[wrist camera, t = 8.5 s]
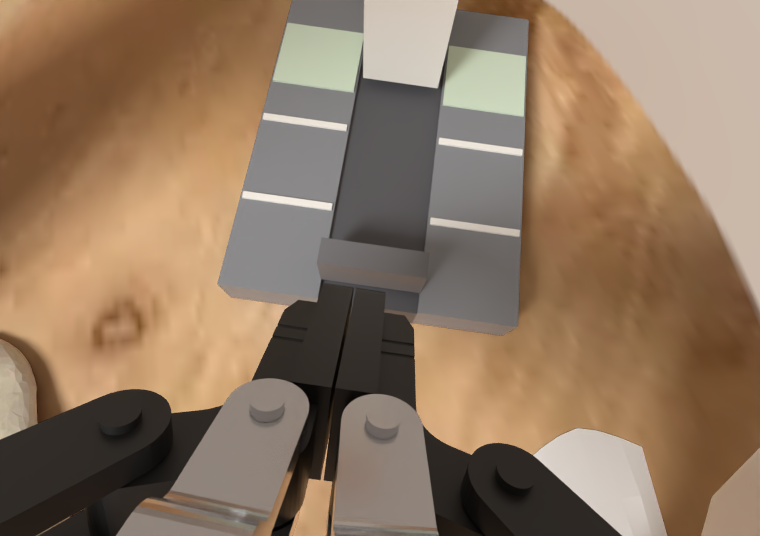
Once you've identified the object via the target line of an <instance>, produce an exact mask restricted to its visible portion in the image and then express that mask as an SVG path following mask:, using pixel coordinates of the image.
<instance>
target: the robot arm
mask: <svg viewBox="0 0 760 536" xmlns="http://www.w3.org/2000/svg"><path fill="white" fill-rule="evenodd" d="M353 292H354V287H349V286H343V285H336V284H329V283H324V284H323V286H322V289H321V292H320V295H319V298H318V301H317V302H311V301H304V300H297V301H296V302H295V303H293V304H292V305H291V306H289V307H288V308H286V309H285V310H284V312H283V314H282V316H281V318H280V321H279V323H278V327H276V329H275V331H274V334H273V337H272V338H271V340H270V342H269V344H268V347H267V349H266V351H265V353H264V355H263V357H262V359H261V362H260V364H259V366H258V368H257V370H256V372H255V375H254V377H253V379H252V381H251V382H248V383H246V384H244V385H241V386H240V387H238V388H237V389H236V390H234V391H233V392H232V393H231V394H230V396H229V397H228V398H227V400H226V402H225V403H224V405H222V406H219V407H215V408H212V409H206V410H199V411H189V412H180V413H171V408H170V405H169V403H168V402H167V400H166V399H165V398H164V397H162V396H161V395H159V394H157V393H155V392H152V391H148V390H140V389H131V390H123V391H117V392H114V393H110V394H107V395H105V396H102V397H100V398H97V399H95V400H92V401H90V402H88V403H85V404H83V405H81V406H78V407H76V408H73V409H71V410H69V411H66V412H64V413H62V414H59V415H57V416H55V417H52V418H50V419H47V420H45V421H43V422H40V423H38V424H36V425H33V426H31V427H28V428H26V429H24V430H21V431H19V432H17V433H14V434H12V435H10V436H7V437H5V438H2V439H0V536H36V535H38V534H40V533H42V532H43V531H45V530H47V529H49V528H50V527H52V526H54V525H56V524H57V523H59V522H61V521H63V520H64V519H66V518H68V517H70V516H71V515H73V514H75V513H77V512H78V511H80V510H82V509H84V510H82V511H80V512H79V513H77V514H75V515H73V516H72V517H70V518H68V519H66V520H65V521H63V522H61V523H59V524H58V525H56V526H54V527H52V528H51V529H49V530H47V531H45V532H44V533H42V534H40V535H38V536H293V534H294V531H295V528H296V525H297V522H298V518H299V511H300V508H301V506H302V504H303V501H304V497H305V492H306V488H307V484H308V479H309V478H310V479H317V480H320V479H321V474H322V469H323V464H324V459H325V454H326V449H327V444H328V451H327V459H326V467H325V474H324V480H325V481H332V489H331V496H330V504H329V511H328V518H327V526H326V536H622V535H621V534H620V533H619V532H618V531H616V530H615V529H614V528H613V527H612V526H611V525H610V524H609V523H608V522H606V521H605V520H604V519H603V518H602V517H601V516H600V515H599V514H598V513H597V512H595V511H594V510H593V509H592V508H591V507H590V506H589V505H588V504H587V503H586V502H584V501H583V500H582V499H581V498H580V497H579V496H578V495H577V494H576V493H575V492H573V491H572V490H571V489H570V488H569V487H568V486H567V485H566V484H565V483H564V482H562V481H561V480H560V479H559V478H558V477H557V476H556V475H555V474H554V473H553V472H551V471H550V470H549V469H548V468H547V467H546V466H545V465H544V464H543V463H542V462H540V461H539V460H538V459H537V458H536V457H534V456H533V455H531V454H530V453H528V452H526V451H524V450H522V449H520V448H518V447H515V446H512V445H508V444H502V443H492V444H487V445H484V446H482V447H480V448H478V449H477V450H476V451H475V452H474V453H473V454H472V455H470V454H468V453H465V452H463V451H461V450H458V449H456V448H453V447H451V446H449V445H447V444H445V443H443V442H441V441H440V440H438V439H437V438H435V437H434V436H433V435H432V434H430V433H429V432H428V431H427V430H426V428H425V427H424V426H423V424H422V421H421V419H420V417H419V415H418V414H417V412H416V394H415V359H414V356H415V355H414V329H413V327H412V326H411V324H410V323H409V321H408V320H407V318H406V316H405V315H398V314H392V313H385V312H384V310H385V298H386V292H383V291H376V290H370V289H363V288H357V287H356V291H355V296H354V301H353V306H352V300H353ZM351 307H352V311H351ZM329 434H330V435H329ZM328 439H329V443H328Z"/></svg>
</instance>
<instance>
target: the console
mask: <svg viewBox="0 0 760 536" xmlns="http://www.w3.org/2000/svg"><path fill="white" fill-rule="evenodd" d="M528 25H529V20H528V19H521V18H514V17H506V16H499V15H492V14H485V13H478V12H471V11H464V10H457V9H456V13H455V17H454V21H453V25H452V30H451V34H450V38H449V42H448V46H447V51H446V55H445V59H444V63H443V67H442V72H441V76H440V80H439V84H438V88H431V87H424V86H417V85H410V84H403V83H396V82H389V81H382V80H375V79H368V78H363V45H364V0H292V3H291V7H290V10H289V14H288V18H287V22H286V26H285V29H284V33H283V37H282V41H281V45H280V48H279V52H278V56H277V60H276V64H275V67H274V71H273V75H272V79H271V83H270V86H269V90H268V94H267V98H266V102H265V105H264V109H263V113H262V117H261V121H260V124H259V128H258V132H257V136H256V140H255V143H254V147H253V151H252V155H251V159H250V162H249V166H248V170H247V174H246V178H245V181H244V185H243V189H242V193H241V196H240V200H239V204H238V208H237V212H236V215H235V219H234V223H233V227H232V231H231V234H230V238H229V242H228V246H227V250H226V253H225V257H224V261H223V265H222V269H221V272H220V276H219V280H218V285H219V286H220V287H221V288H222V289H223V290H224V291H225V292H226V293H227V294H228V295H229V296H230V297H233V298H240V299H247V300H254V301H261V302H268V303H275V304H282V305H289V306H291V305H292V304H293V303H295V302H296V301H297V300H304V301H311V302H317V301H318V298H319V295H320V292H321V289H322V286H323V284H324V283H329V284H336V285H343V286H349V287H354V292H353V300H352V306H353V301H354V296H355V291H356V287H357V288H363V289H370V290H376V291H383V292H386V298H385V310H384V312H385V313H392V314H398V315H405V316H406V318H407V320H408V321H409V323H416V324H423V325H430V326H437V327H444V328H451V329H458V330H465V331H472V332H479V333H486V334H493V335H501V336H503V335H505V334H507V333H508V332H510V331H512V330H513V329H515V328H517V327H518V313H519V284H520V255H521V226H522V198H523V169H524V140H525V111H526V82H527V53H528ZM351 311H352V307H351Z"/></svg>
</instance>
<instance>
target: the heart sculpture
mask: <svg viewBox="0 0 760 536" xmlns="http://www.w3.org/2000/svg"><path fill="white" fill-rule="evenodd" d="M533 456H534V457H536V458H537V459H538V460H539V461H540V462H542V463H543V464H544V465H545V466H546V467H547V468H548V469H549V470H550V471H551V472H553V473H554V474H555V475H556V476H557V477H558V478H559V479H560V480H561V481H562V482H564V483H565V484H566V485H567V486H568V487H569V488H570V489H571V490H572V491H573V492H575V493H576V494H577V495H578V496H579V497H580V498H581V499H582V500H583V501H584V502H586V503H587V504H588V505H589V506H590V507H591V508H592V509H593V510H594V511H595V512H597V513H598V514H599V515H600V516H601V517H602V518H603V519H604V520H605V521H606V522H608V523H609V524H610V525H611V526H612V527H613V528H614V529H615V530H616V531H618V532H619V533H620V534H621V535H622V536H667V533H666V529H665V526H664V522H663V519H662V515H661V512H660V508H659V505H658V501H657V498H656V494H655V491H654V487H653V484H652V480H651V477H650V473H649V470H648V466H647V463H646V459H645V456H644V452H643V449H642V447H641V446H639V445H636V444H634V443H632V442H629V441H627V440H624V439H622V438H620V437H617V436H613V435H610V434H607V433H604V432H601V431H597V430H589V429H580V428H576V429H574V430H571V431H569V432H567V433H564V434H562V435H560V436H558V437H556V438H555V439H554V440H552V441H551V442H549V443H548V444H546V445H545V446H544V447H542V448H541V449H540V450H539V451H538V452H536V453H535V454H534V455H533ZM701 536H760V448H759V449H758V450H757V451H756V452H755V453H754V454H753V455H752V456H751V457H750V458H749V459H748V460H747V461H746V462H745V463H744V464H743V465H742V466H741V467H740V468H739V469H738V470H737V471H736V472H735V473H734V474H733V475H732V476H731V477H730V478H729V479H728V481H727V482H726V483H725V484H724V485H723V486H722V487H721V488H720V489H719V490H718V491H717V492H716V493H715V494H714V495H713V496H712V498H711V502H710V505H709V509H708V512H707V516H706V520H705V523H704V527H703V531H702V534H701Z"/></svg>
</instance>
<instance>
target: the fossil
mask: <svg viewBox="0 0 760 536" xmlns="http://www.w3.org/2000/svg"><path fill="white" fill-rule="evenodd" d="M36 392H37V386H36V382H35V377H34V375H33V373H32V369H31V366H30V364H29V362H28V361H27V359H26V358H25V356H24V355H23V354H22V353H21V352H20V351H19V350H18V348H16V347H14V346H13V345H11V344H10V343H8V342H6V341H4V340H2V339H0V439H2V438H5V437H7V436H10V435H12V434H14V433H17V432H19V431H21V430H24V429H26V428H28V427H31V426H33V425H36V424H38V422H37V402H36ZM68 518H70V517H68ZM68 518H66V519H68ZM66 519H64V520H63V521H65V520H66ZM63 521H61V522H63ZM61 522H59V523H61ZM59 523H57V524H56V525H58V524H59ZM56 525H54V526H56ZM54 526H52V527H54ZM52 527H50V528H49V529H51V528H52ZM49 529H47V530H49ZM47 530H45V531H47ZM45 531H43V532H42V533H44V532H45ZM42 533H40V534H42ZM40 534H38V535H40ZM38 535H36V536H38Z"/></svg>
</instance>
